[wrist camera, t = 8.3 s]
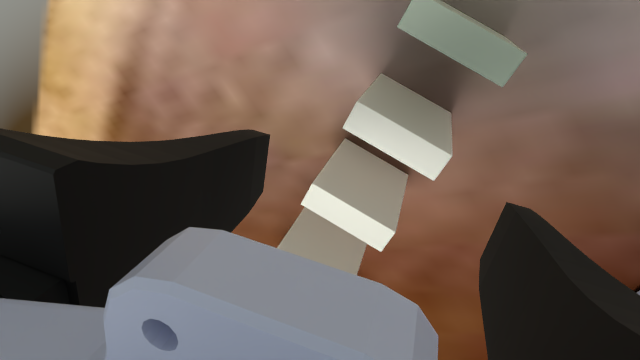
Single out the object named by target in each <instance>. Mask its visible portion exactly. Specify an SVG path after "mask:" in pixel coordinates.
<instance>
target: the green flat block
mask: <svg viewBox="0 0 640 360" xmlns="http://www.w3.org/2000/svg"><path fill="white" fill-rule="evenodd" d="M397 28H399V29H401V30H403V31H404V32H406V33H408V34H410V35H411V36H413V37H415V38H417V39H418V40H420V41H422V42H424V43H425V44H427V45H429V46H431V47H432V48H434V49H436V50H438V51H439V52H441V53H443V54H445V55H446V56H448V57H450V58H452V59H453V60H455V61H457V62H459V63H460V64H462V65H464V66H466V67H467V68H469V69H471V70H473V71H474V72H476V73H478V74H480V75H481V76H483V77H485V78H487V79H488V80H490V81H492V82H494V83H495V84H497V85H499V86H501V87H502V88H503V86H504V85H505V84H506V82H507V81H508V80H509V78H510V77H511V76H512V74H513V73H514V72H515V70H516V69H517V68H518V66H519V65H520V64H521V62H522V61H523V60H524V58H525V57H526V56H527V53H526V52H524V51H523V50H522V49H520V48H519V47H518V46H516V45H515V44H514V43H512V42H511V41H510V40H509V39H507V38H506V37H505V36H503V35H501V34H499V33H498V32H496V31H494V30H492V29H491V28H489V27H487V26H485V25H484V24H482V23H480V22H478V21H476V20H475V19H473V18H471V17H469V16H468V15H466V14H464V13H462V12H461V11H459V10H457V9H455V8H453V7H452V6H450V5H448V4H446V3H445V2H443V1H441V0H412V1H411V3H410V4H409V6H408V8H407V10H406V12H405V13H404V15H403V17H402V19H401V21H400V23H399V24H398V26H397Z"/></svg>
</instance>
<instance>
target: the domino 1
mask: <svg viewBox="0 0 640 360" xmlns="http://www.w3.org/2000/svg"><path fill="white" fill-rule="evenodd" d="M343 129H345V130H347V131H348V132H350V133H352V134H354V135H355V136H357V137H359V138H361V139H362V140H364V141H366V142H367V143H369V144H371V145H373V146H374V147H376V148H378V149H380V150H381V151H383V152H385V153H386V154H388V155H390V156H392V157H393V158H395V159H397V160H399V161H400V162H402V163H404V164H405V165H407V166H409V167H411V168H412V169H414V170H416V171H418V172H419V173H421V174H423V175H424V176H426V177H428V178H430V179H431V180H433V181H434V180H435V179H436V177H437V176H438V175H439V173H440V172H441V171H442V169H443V168H444V166H445V165H446V164H447V162H448V161H449V160H450V158H451V157H452V119H451V113H450V112H449V111H447V110H445V109H443V108H442V107H440V106H438V105H436V104H435V103H433V102H431V101H429V100H428V99H426V98H424V97H422V96H421V95H419V94H417V93H415V92H414V91H412V90H410V89H408V88H407V87H405V86H403V85H401V84H400V83H398V82H396V81H394V80H392V79H391V78H389V77H387V76H385V75H384V74H382V73H381V74H380V75H379V76H378V77H377V79H376V80H375V81H374V82H373V83H372V84H371V86H370V87H369V88H368V89H367V90H366V91H365V93H364V94H363V95H362V96H361V97H360V98H359V100H358V101H357V102H356V104H355V106H354V108H353V110H352V111H351V113H350V115H349V117H348V119H347V121H346V122H345V124H344V126H343Z"/></svg>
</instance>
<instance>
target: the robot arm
mask: <svg viewBox="0 0 640 360" xmlns="http://www.w3.org/2000/svg"><path fill="white" fill-rule="evenodd" d="M269 139H270V135H269V134H265V133H262V132H258V131H255V130H237V131H230V132H223V133H217V134H211V135H205V136H198V137H190V138H182V139H175V140H165V141H148V142H112V141H89V140H76V139H67V138H58V137H50V136H42V135H36V134H30V133H24V132H18V131H12V130H5V129H0V360H437V359H438V335H437V333H436V332H435V330H434V329H433V327H432V326H431V324H430V323H429V321H428V320H427V318H426V317H425V315H424V314H423V312H422V311H421V309H420V307H419V306H418V305H417V304H415V303H413V302H412V301H410V300H408V299H407V298H405V297H403V296H401V295H400V294H398V293H396V292H395V291H393V290H391V289H389V288H388V287H386V286H384V285H383V284H381V283H378V282H375V281H372V280H369V279H366V278H363V277H360V276H357V275H354V274H351V273H348V272H345V271H342V270H339V269H336V268H333V267H330V266H327V265H324V264H321V263H319V262H316V261H313V260H310V259H307V258H304V257H301V256H298V255H295V254H292V253H289V252H286V251H283V250H280V249H277V248H274V247H271V246H268V245H265V244H262V243H259V242H256V241H254V240H251V239H248V238H245V237H242V236H239V235H236V234H233V233H231V232H232V231H233V230H234V229H235V227H236V226H237V225H238V224H239V223H240V222H241V221H242V220H243V219H244V218H245V216H246V215H247V214H248V213H249V212H250V210H251V209H252V207H253V206H254V204H255V203H256V201H257V200H258V198H259V197H260V195H261V194H262V192H263V187H264V179H265V171H266V163H267V155H268V147H269ZM479 292H480V300H481V309H482V316H483V324H484V331H485V339H486V346H487V354H488V360H640V291H638V292H637V293H635V292H634V291H633V290H631V289H630V288H628V287H627V286H625V285H624V284H622V283H621V282H619V281H618V280H617V279H615V278H614V277H613V276H611V275H610V274H609V273H607V272H606V271H605V270H604V269H602V268H601V267H600V266H598V265H597V264H596V263H595V262H593V261H592V260H591V259H590V258H588V257H587V256H586V255H585V254H584V253H582V252H581V251H580V250H579V249H578V248H576V247H575V246H574V245H573V244H572V243H571V242H570V241H568V240H567V239H566V238H565V237H564V236H563V235H562V234H560V233H559V232H558V231H557V230H556V229H555V228H554V227H552V226H551V225H550V224H549V223H548V222H547V221H546V220H544V219H543V218H542V217H541V216H539V215H538V214H537V213H535V212H534V211H532V210H531V209H529V208H525V207H522V206H518V205H515V204H511V203H508V202H507V203H506V205H505V207H504V209H503V211H502V213H501V215H500V218H499V220H498V222H497V224H496V226H495V228H494V231H493V233H492V235H491V237H490V239H489V241H488V243H487V246H486V248H485V250H484V252H483V254H482V256H481V259H480V272H479Z"/></svg>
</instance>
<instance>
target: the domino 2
mask: <svg viewBox="0 0 640 360" xmlns="http://www.w3.org/2000/svg"><path fill="white" fill-rule="evenodd" d="M407 179H408V174H406V173H404V172H402V171H401V170H399V169H397V168H396V167H394V166H392V165H390V164H389V163H387V162H385V161H383V160H382V159H380V158H378V157H377V156H375V155H373V154H371V153H370V152H368V151H366V150H365V149H363V148H361V147H359V146H358V145H356V144H354V143H352V142H351V141H349V140H347V139H346V138H345V139H344V140H343V142H342V143H341V144H340V146H339V147H338V148H337V150H336V151H335V153H334V154H333V155H332V157H331V158H330V160H329V161H328V162H327V164H326V165H325V166H324V168H323V169H322V171H321V172H320V173H319V175H318V176H317V177H316V179H315V180H314V182H313V183H312V185H311V187H310V188H309V190H308V192H307V194H306V196H305V198H304V199H303V201H302V203H301V205H303V206H304V207H306V208H308V209H310V210H311V211H313V212H315V213H316V214H318V215H320V216H321V217H323V218H325V219H326V220H328V221H330V222H331V223H333V224H335V225H337V226H338V227H340V228H342V229H343V230H345V231H347V232H348V233H350V234H352V235H353V236H355V237H357V238H359V239H360V240H362V241H364V242H365V243H367V244H369V245H370V246H372V247H374V248H375V249H377V250H379V251H380V252H381V251H382V250H383V249H384V247H385V246H386V244H387V243H388V242H389V240H390V239H391V238H392V236H393V235H394V234H395V232H396V228H397V223H398V219H399V215H400V210H401V206H402V201H403V197H404V192H405V188H406V183H407Z"/></svg>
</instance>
